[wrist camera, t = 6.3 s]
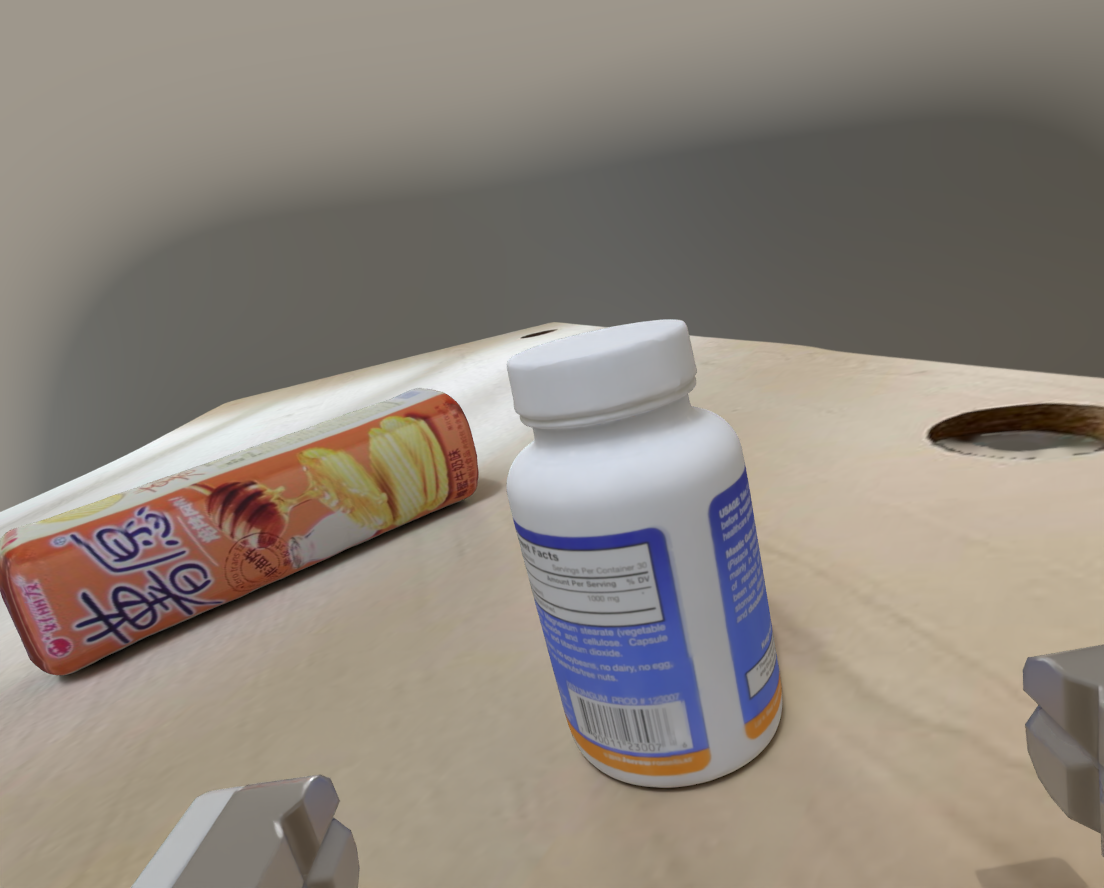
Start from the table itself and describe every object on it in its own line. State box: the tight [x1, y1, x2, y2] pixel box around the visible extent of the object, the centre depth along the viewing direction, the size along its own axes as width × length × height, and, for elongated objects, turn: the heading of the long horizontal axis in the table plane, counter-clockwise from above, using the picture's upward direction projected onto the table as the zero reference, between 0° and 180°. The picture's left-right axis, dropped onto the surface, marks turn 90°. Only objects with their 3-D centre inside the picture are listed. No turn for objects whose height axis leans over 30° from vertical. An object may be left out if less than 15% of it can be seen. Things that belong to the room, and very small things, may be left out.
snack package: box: [0, 388, 478, 676], centre depth 33 cm, size 21×7×7 cm, turn 128°
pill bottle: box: [507, 319, 782, 788], centre depth 15 cm, size 5×5×10 cm
